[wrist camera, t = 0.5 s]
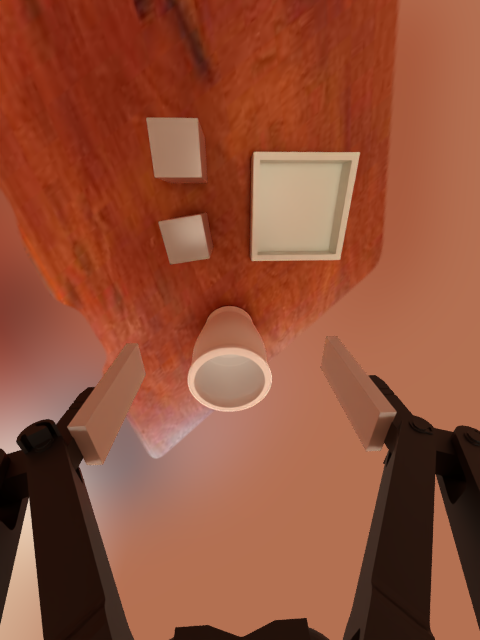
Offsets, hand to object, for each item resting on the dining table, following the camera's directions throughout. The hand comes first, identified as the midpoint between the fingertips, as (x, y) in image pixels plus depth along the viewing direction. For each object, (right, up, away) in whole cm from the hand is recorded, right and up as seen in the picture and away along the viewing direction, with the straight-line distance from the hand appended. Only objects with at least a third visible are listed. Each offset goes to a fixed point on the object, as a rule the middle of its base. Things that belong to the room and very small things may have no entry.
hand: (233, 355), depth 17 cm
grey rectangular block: (-6, +16, +19) cm, 25 cm away
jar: (-1, +1, +26) cm, 26 cm away
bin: (+8, +19, +18) cm, 27 cm away
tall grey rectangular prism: (-7, +24, +15) cm, 29 cm away
